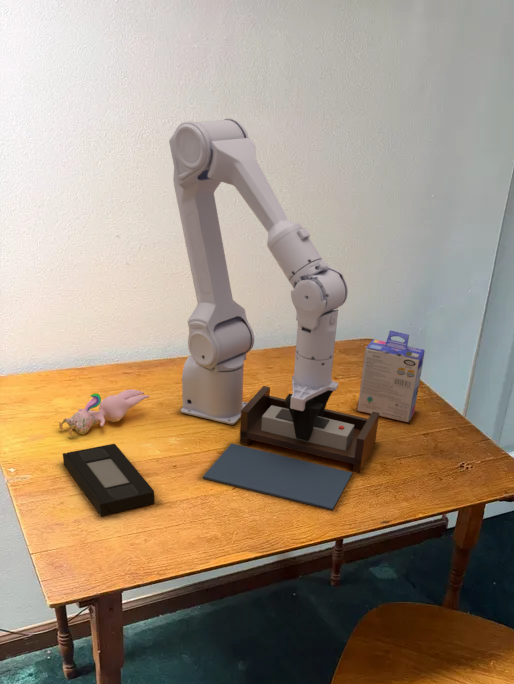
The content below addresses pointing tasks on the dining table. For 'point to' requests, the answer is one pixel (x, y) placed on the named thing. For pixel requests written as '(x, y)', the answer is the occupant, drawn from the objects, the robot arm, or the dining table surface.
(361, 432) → the dark wooden tray
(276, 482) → the desk mat
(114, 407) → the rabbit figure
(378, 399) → the ink cartridge box
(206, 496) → the dining table surface
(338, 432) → the remote
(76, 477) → the vhs tape
